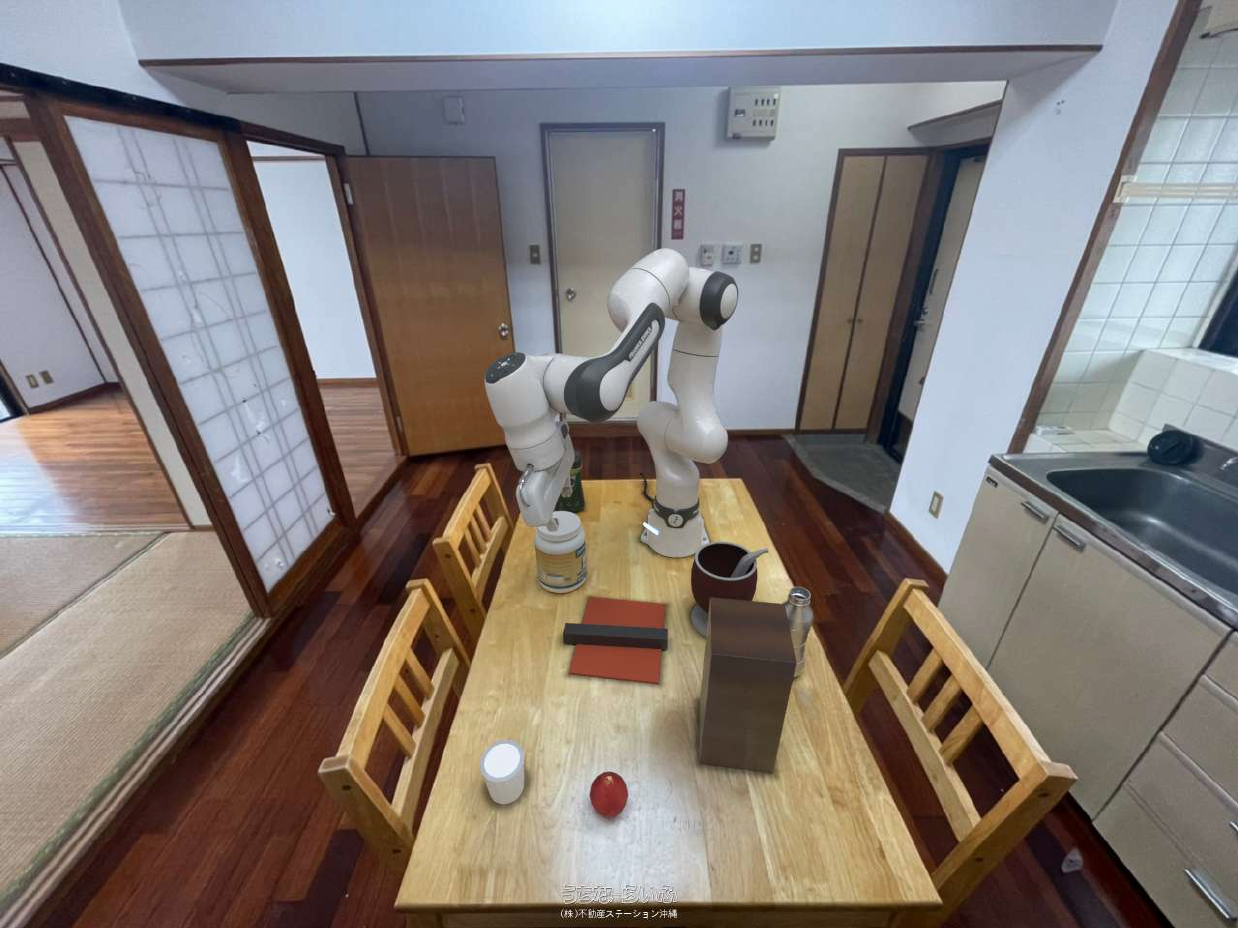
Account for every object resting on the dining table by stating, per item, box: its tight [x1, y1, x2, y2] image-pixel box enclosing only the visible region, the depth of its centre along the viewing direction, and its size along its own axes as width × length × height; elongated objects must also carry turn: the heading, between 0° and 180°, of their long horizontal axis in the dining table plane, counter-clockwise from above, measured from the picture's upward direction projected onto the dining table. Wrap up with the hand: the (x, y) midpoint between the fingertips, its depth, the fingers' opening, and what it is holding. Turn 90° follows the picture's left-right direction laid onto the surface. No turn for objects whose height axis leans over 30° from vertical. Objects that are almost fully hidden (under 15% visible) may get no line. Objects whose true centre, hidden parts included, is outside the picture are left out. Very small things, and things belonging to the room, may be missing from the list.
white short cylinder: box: [479, 739, 525, 805], centre depth 82 cm, size 7×7×7 cm
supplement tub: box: [533, 510, 588, 594], centre depth 125 cm, size 12×12×17 cm
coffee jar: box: [554, 450, 586, 513], centre depth 154 cm, size 10×8×19 cm
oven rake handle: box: [562, 622, 669, 650], centre depth 110 cm, size 3×22×3 cm, turn 85°
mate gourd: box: [690, 540, 769, 638], centre depth 111 cm, size 16×14×20 cm
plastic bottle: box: [781, 586, 815, 678], centre depth 99 cm, size 6×7×20 cm
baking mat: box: [568, 596, 666, 685], centre depth 112 cm, size 22×18×1 cm
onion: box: [589, 771, 629, 818], centre depth 79 cm, size 6×6×8 cm
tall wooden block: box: [699, 597, 797, 774], centre depth 85 cm, size 12×12×26 cm
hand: (561, 511), depth 95 cm, fingers open, 8 cm apart
